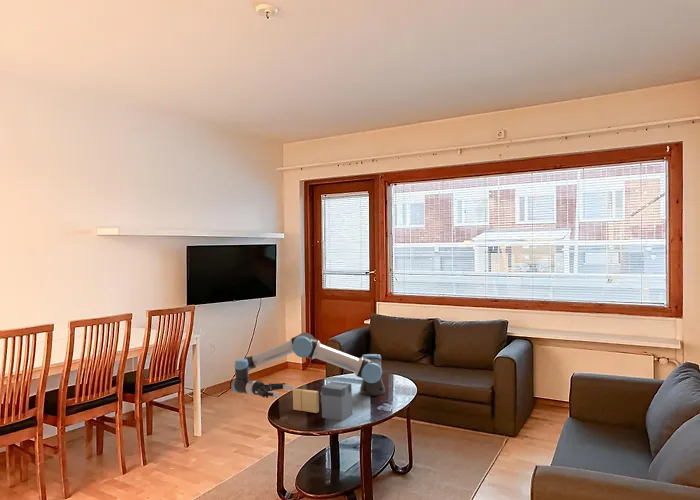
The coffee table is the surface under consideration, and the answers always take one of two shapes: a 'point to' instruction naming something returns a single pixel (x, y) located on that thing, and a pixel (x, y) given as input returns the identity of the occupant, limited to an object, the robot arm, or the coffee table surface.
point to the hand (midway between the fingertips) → (285, 391)
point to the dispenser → (336, 400)
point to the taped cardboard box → (306, 400)
